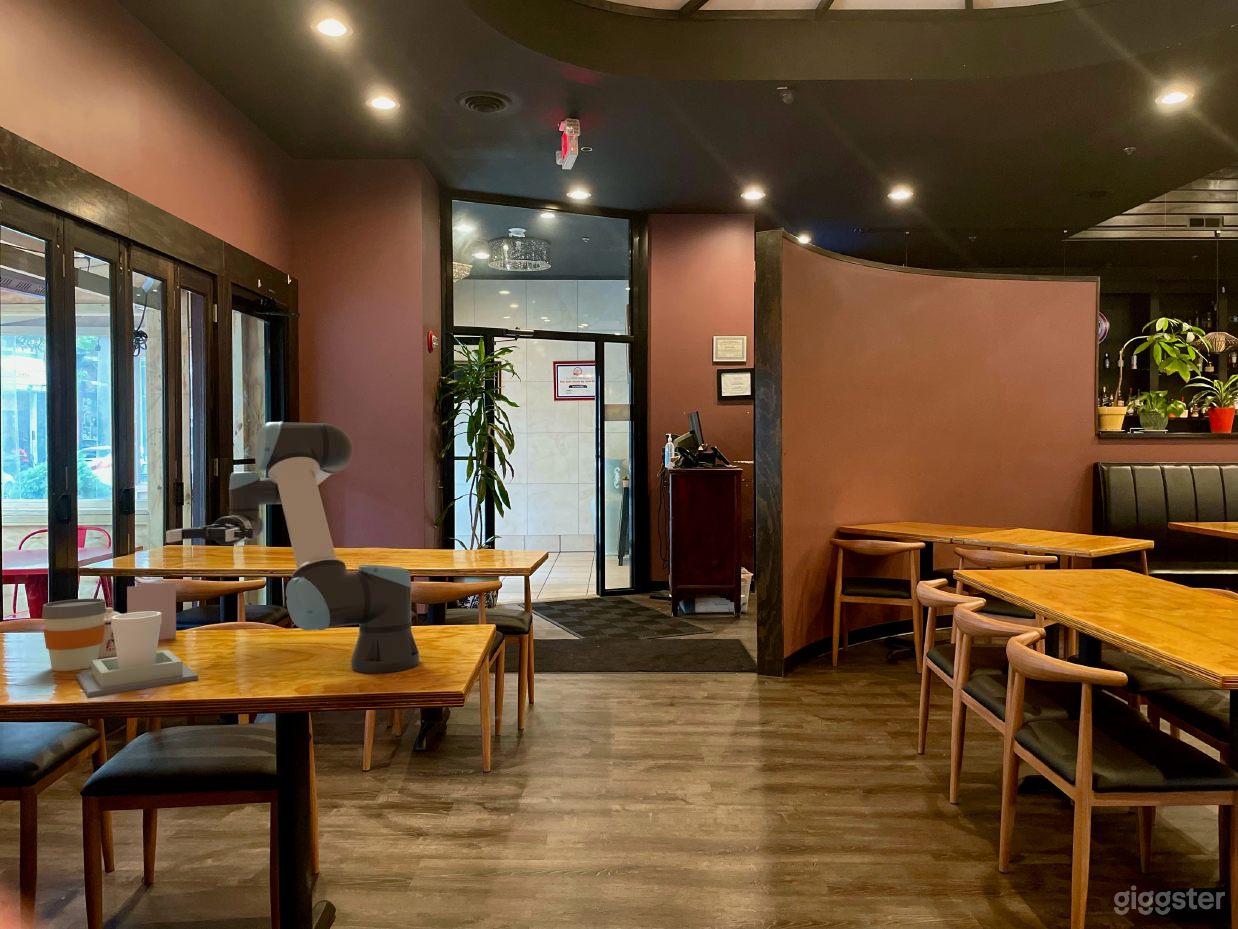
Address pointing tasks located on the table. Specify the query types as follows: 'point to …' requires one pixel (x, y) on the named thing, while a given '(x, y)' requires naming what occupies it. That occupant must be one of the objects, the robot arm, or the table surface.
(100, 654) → the teacup with lid
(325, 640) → the table surface
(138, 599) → the greeting card
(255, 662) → the table surface
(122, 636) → the foam cup
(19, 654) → the table surface
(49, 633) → the reusable coffee cup
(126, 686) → the tray
